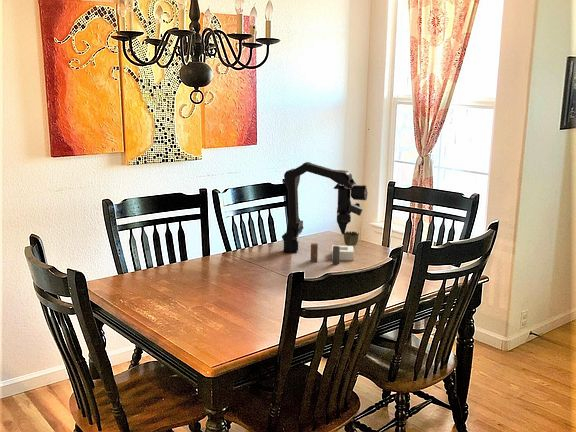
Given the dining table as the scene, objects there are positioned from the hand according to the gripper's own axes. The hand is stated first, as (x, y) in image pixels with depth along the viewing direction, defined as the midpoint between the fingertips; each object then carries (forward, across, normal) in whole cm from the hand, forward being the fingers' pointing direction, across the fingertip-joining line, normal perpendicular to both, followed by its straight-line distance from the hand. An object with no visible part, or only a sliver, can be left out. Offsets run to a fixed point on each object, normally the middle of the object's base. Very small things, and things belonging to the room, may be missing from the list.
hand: (343, 231), depth 273 cm
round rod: (+12, -11, +3) cm, 17 cm away
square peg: (+12, -8, +13) cm, 19 cm away
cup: (+12, +14, -4) cm, 19 cm away
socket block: (+12, 0, 0) cm, 12 cm away
